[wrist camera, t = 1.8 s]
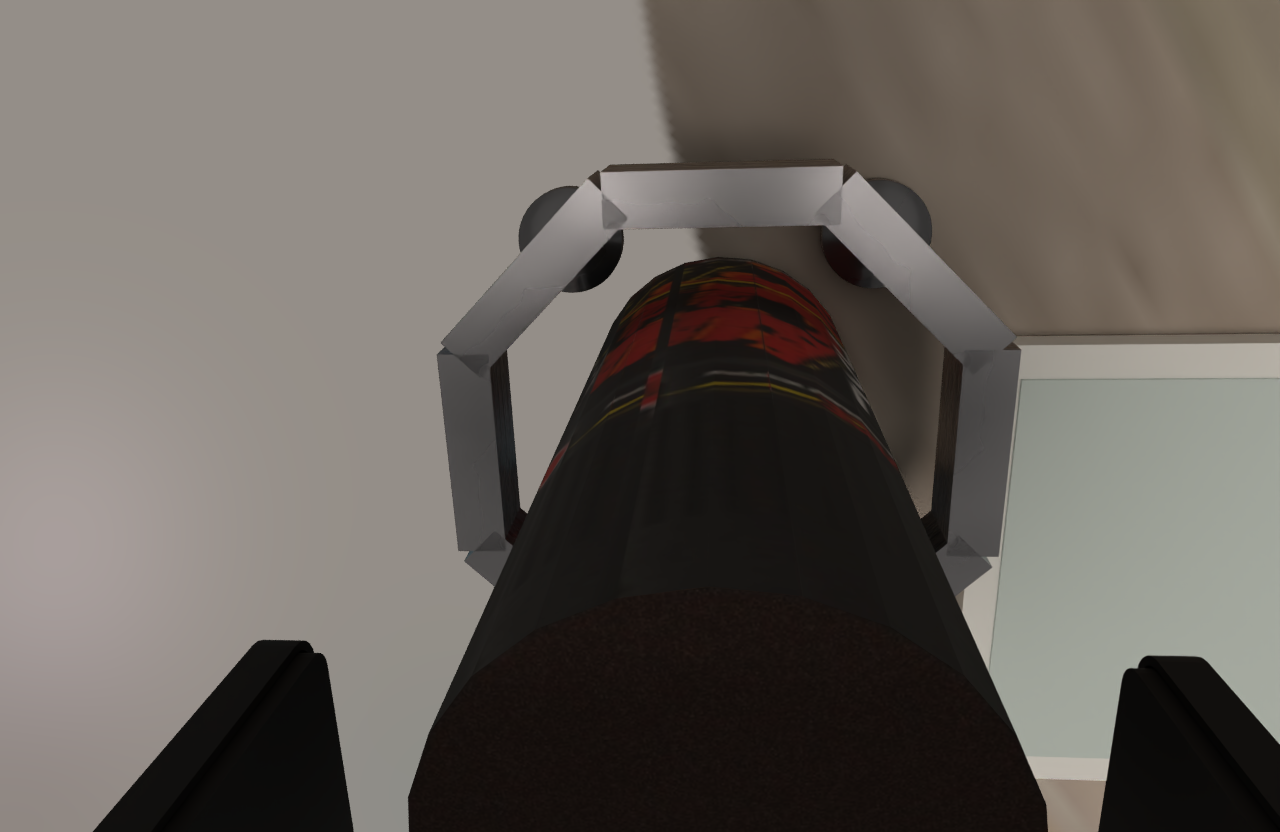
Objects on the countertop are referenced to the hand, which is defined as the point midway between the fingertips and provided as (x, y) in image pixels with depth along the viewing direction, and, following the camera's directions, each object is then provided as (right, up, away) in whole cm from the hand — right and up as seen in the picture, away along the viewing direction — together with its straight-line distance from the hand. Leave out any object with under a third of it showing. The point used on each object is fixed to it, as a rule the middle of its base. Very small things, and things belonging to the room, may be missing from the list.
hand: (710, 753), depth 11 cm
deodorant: (+1, +5, +12) cm, 13 cm away
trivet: (+13, 0, +12) cm, 18 cm away
